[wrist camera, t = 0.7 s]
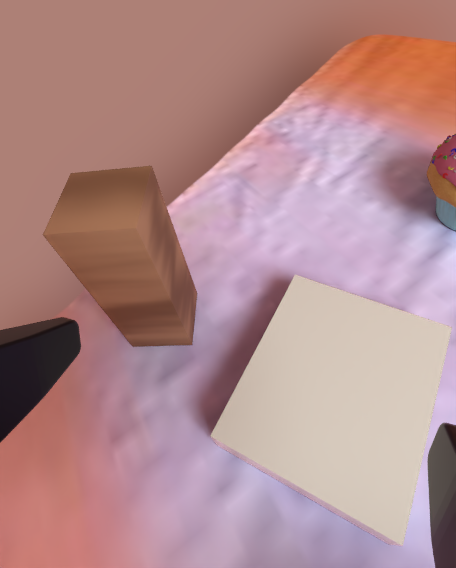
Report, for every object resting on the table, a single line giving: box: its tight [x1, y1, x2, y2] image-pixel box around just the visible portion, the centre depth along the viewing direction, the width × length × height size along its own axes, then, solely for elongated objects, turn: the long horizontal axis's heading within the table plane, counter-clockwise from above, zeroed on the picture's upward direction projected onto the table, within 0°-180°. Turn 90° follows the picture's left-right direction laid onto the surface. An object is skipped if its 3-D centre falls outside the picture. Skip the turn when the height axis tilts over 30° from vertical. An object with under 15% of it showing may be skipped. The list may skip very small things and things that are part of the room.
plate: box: [211, 275, 452, 546], centre depth 21 cm, size 12×10×2 cm
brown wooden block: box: [43, 166, 197, 347], centre depth 22 cm, size 4×4×12 cm
